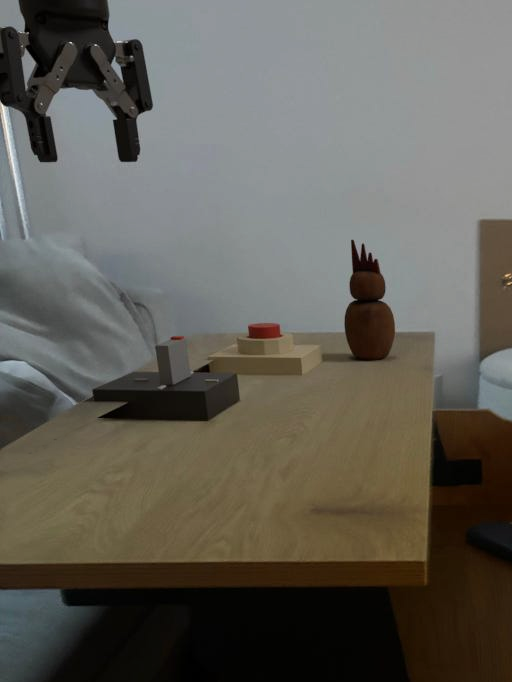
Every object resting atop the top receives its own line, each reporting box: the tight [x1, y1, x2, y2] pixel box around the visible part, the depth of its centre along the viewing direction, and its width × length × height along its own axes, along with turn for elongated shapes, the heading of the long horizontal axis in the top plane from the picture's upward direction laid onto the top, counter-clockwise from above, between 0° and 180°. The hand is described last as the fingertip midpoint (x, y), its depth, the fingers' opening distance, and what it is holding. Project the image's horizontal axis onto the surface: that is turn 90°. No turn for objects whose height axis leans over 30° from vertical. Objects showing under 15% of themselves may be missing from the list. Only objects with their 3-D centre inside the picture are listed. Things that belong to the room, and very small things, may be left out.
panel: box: [92, 371, 241, 421], centre depth 105 cm, size 12×10×3 cm
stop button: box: [247, 322, 282, 339], centre depth 126 cm, size 4×4×2 cm
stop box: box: [207, 331, 323, 376], centre depth 127 cm, size 12×10×4 cm
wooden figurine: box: [343, 239, 396, 361], centre depth 131 cm, size 7×6×15 cm
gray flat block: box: [154, 335, 192, 385], centre depth 104 cm, size 5×1×4 cm, turn 174°
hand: (89, 162), depth 93 cm, fingers open, 8 cm apart
